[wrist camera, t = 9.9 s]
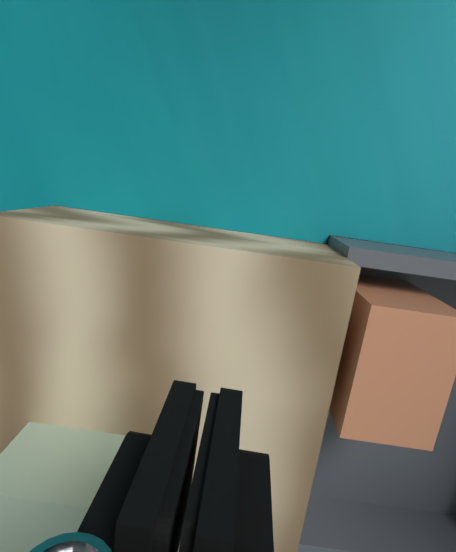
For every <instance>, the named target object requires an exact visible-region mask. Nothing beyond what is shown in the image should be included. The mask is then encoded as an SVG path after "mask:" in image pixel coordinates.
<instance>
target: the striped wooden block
mask: <svg viewBox="0 0 456 552" xmlns="http://www.w3.org/2000/svg"><path fill="white" fill-rule="evenodd" d="M360 270H361V267H359V266H358V265H356V264H355V263H354V262H352V261H351V260H349V259H348V258H346V257H345V256H344V255H342V254H341V253H339V252H338V251H336V250H335V249H334V248H332V247H331V246H329V245H328V244H322V243H315V242H308V241H301V240H293V239H286V238H279V237H272V236H265V235H258V234H251V233H244V232H237V231H230V230H223V229H216V228H209V227H202V226H195V225H188V224H181V223H174V222H167V221H160V220H153V219H145V218H138V217H131V216H124V215H117V214H110V213H103V212H96V211H89V210H82V209H75V208H68V207H61V206H46V207H38V208H29V209H21V210H12V211H3V212H0V454H1V453H2V452H3V451H4V449H5V448H6V447H7V446H8V445H9V444H10V443H11V442H12V440H13V439H14V438H15V437H16V436H17V435H18V434H19V433H20V431H21V430H22V429H23V428H24V427H25V426H26V425H27V424H28V422H36V423H43V424H50V425H57V426H64V427H71V428H78V429H85V430H92V431H99V432H106V433H113V434H120V435H126V434H127V433H128V432H129V431H133V432H139V433H145V434H151V435H152V433H153V430H154V428H155V425H156V423H157V420H158V418H159V415H160V413H161V410H162V408H163V405H164V403H165V401H166V398H167V396H168V393H169V391H170V388H171V386H172V383H173V381H174V380H178V381H184V382H190V383H196V390H201V391H204V396H203V404H202V411H201V419H200V426H199V433H198V441H197V448H196V455H195V463H194V470H195V465H196V460H197V456H198V451H199V446H200V441H201V437H202V432H203V427H204V423H205V418H206V413H207V408H208V404H209V399H210V394H211V392H213V393H220V389H221V388H227V389H234V390H240V391H243V396H242V412H241V428H240V444H239V449H241V450H247V451H253V452H259V453H265V454H269V459H270V477H271V498H272V520H273V541H274V552H297V550H298V546H299V541H300V537H301V533H302V528H303V524H304V519H305V515H306V510H307V506H308V501H309V497H310V492H311V488H312V484H313V479H314V475H315V470H316V466H317V461H318V457H319V452H320V448H321V444H322V439H323V435H324V430H325V426H326V421H327V417H328V412H329V408H330V403H331V399H332V395H333V390H334V386H335V381H336V377H337V372H338V368H339V363H340V359H341V355H342V350H343V346H344V341H345V337H346V332H347V328H348V323H349V319H350V314H351V310H352V306H353V301H354V297H355V292H356V288H357V283H358V279H359V274H360ZM194 470H193V475H194ZM192 479H193V477H192ZM179 546H180V544H179ZM178 552H179V549H178Z"/></svg>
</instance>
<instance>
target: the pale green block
mask: <svg viewBox="0 0 456 552" xmlns="http://www.w3.org/2000/svg"><path fill="white" fill-rule="evenodd" d="M125 436H126V435H120V434H113V433H106V432H99V431H92V430H85V429H78V428H71V427H64V426H57V425H50V424H43V423H36V422H28V424H27V425H26V426H25V427H24V428H23V429H22V430H21V431H20V433H19V434H18V435H17V436H16V437H15V438H14V439H13V440H12V442H11V443H10V444H9V445H8V446H7V447H6V448H5V449H4V451H3V452H2V453H1V454H0V552H30V551H31V550H32V549H33V548H34V547H36V546H37V545H39V544H41V543H42V542H44V541H45V540H47V539H49V538H52V537H55V536H57V535H60V534H63V533H72V532H77V531H78V529H79V527H80V525H81V523H82V521H83V519H84V517H85V515H86V513H87V511H88V509H89V507H90V505H91V503H92V501H93V499H94V497H95V495H96V493H97V491H98V489H99V487H100V485H101V483H102V481H103V479H104V477H105V475H106V473H107V471H108V469H109V467H110V465H111V463H112V461H113V459H114V457H115V455H116V454H117V452H118V450H119V448H120V446H121V444H122V442H123V440H124V438H125Z"/></svg>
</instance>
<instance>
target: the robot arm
mask: <svg viewBox="0 0 456 552" xmlns="http://www.w3.org/2000/svg"><path fill="white" fill-rule="evenodd" d="M203 396H204V391H201V390H196V383H190V382H184V381H178V380H174V381H173V383H172V386H171V388H170V391H169V393H168V396H167V398H166V401H165V403H164V405H163V408H162V410H161V413H160V415H159V418H158V420H157V423H156V425H155V428H154V430H153V433H152V435H151V434H145V433H139V432H133V431H129V432H128V433H127V434H126V436H125V438H124V440H123V442H122V444H121V446H120V448H119V450H118V452H117V454H116V455H115V457H114V459H113V461H112V463H111V465H110V467H109V469H108V471H107V473H106V475H105V477H104V479H103V481H102V483H101V485H100V487H99V489H98V491H97V493H96V495H95V497H94V499H93V501H92V503H91V505H90V507H89V509H88V511H87V513H86V515H85V517H84V519H83V521H82V523H81V525H80V527H79V529H78V531H77V532H72V533H63V534H60V535H57V536H55V537H52V538H49V539H47V540H45V541H44V542H42V543H41V544H39V545H37V546H36V547H34V548H33V549H32V550H31V551H30V552H178V549H179V552H274V541H273V520H272V498H271V477H270V459H269V454H265V453H259V452H253V451H247V450H241V449H239V444H240V428H241V412H242V396H243V391H240V390H234V389H227V388H221V389H220V393H213V392H211V394H210V399H209V404H208V408H207V413H206V418H205V423H204V427H203V432H202V437H201V441H200V446H199V451H198V456H197V460H196V465H195V470H194V463H195V455H196V448H197V441H198V433H199V426H200V419H201V411H202V404H203ZM193 470H194V475H193ZM192 477H193V479H192ZM179 544H180V546H179Z"/></svg>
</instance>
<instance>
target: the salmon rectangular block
mask: <svg viewBox="0 0 456 552" xmlns="http://www.w3.org/2000/svg"><path fill="white" fill-rule="evenodd" d="M455 377H456V309H454V308H452V307H451V306H449V305H447V304H445V303H444V302H442V301H440V300H439V299H437V298H435V297H433V296H432V295H430V294H428V293H427V292H425V291H423V290H422V289H420V288H418V287H416V286H415V285H413V284H411V283H410V282H406V281H400V280H393V279H386V278H379V277H372V276H365V275H359V279H358V283H357V288H356V292H355V297H354V301H353V306H352V310H351V314H350V319H349V323H348V328H347V332H346V337H345V341H344V346H343V350H342V355H341V359H340V363H339V368H338V372H337V377H336V381H335V386H334V390H333V395H332V399H331V403H330V408H329V411H330V414H331V417H332V419H333V422H334V424H335V427H336V429H337V432H338V435H339V437H340V438H345V439H352V440H359V441H365V442H372V443H379V444H386V445H393V446H400V447H407V448H414V449H421V450H427V451H433V448H434V445H435V441H436V438H437V435H438V432H439V428H440V425H441V422H442V419H443V415H444V412H445V409H446V406H447V403H448V399H449V396H450V393H451V390H452V386H453V383H454V380H455Z"/></svg>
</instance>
